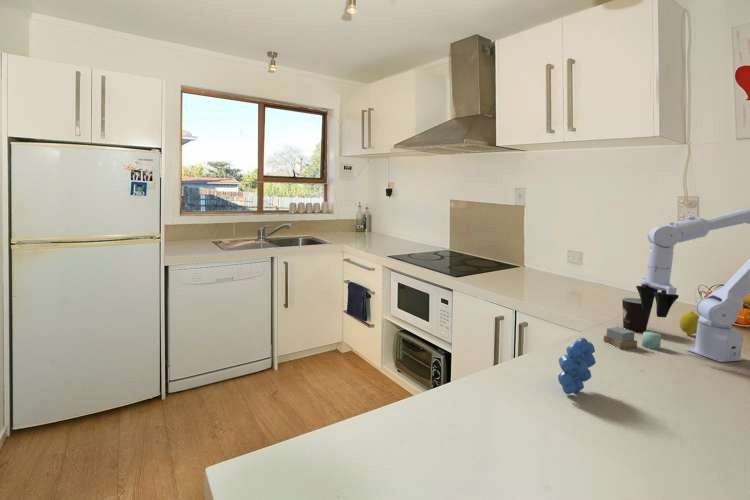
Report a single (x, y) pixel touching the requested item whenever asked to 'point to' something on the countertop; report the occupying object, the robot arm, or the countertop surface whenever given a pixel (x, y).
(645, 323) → the coffee mug
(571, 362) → the grapes
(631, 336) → the grey square slab
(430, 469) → the countertop surface
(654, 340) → the teal cylinder
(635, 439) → the countertop surface
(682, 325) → the lemon
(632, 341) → the walnut block
